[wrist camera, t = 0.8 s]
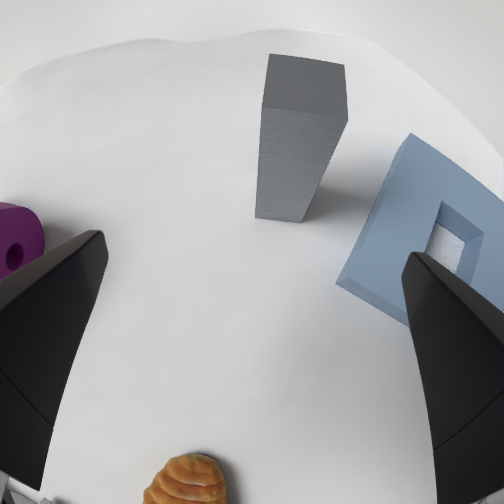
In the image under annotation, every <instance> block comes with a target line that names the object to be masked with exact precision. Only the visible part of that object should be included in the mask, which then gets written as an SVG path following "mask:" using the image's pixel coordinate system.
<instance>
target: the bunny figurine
mask: <svg viewBox="0 0 504 504" xmlns="http://www.w3.org/2000/svg"><path fill="white" fill-rule="evenodd" d="M10 492H11V495H12V497H13V499H14V502H15V504H36V503H34V502H33V501H31V500H30V499H28V498H26V497H24V496H22V495H20V494H18V493H15V492H13V491H10ZM39 504H52V502H51V501H49V500H48V499H46V498H45V497H44V499H43V500H42V501H41V502H40V503H39Z"/></svg>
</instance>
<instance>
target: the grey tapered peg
mask: <svg viewBox="0 0 504 504" xmlns="http://www.w3.org/2000/svg"><path fill="white" fill-rule="evenodd" d="M347 122H348V109H347V93H346V80H345V69H344V65H342V64H337V63H332V62H326V61H321V60H315V59H308V58H302V57H294V56H287V55H278V54H269V60H268V67H267V74H266V81H265V88H264V95H263V102H262V112H261V128H260V144H259V160H258V176H257V192H256V208H255V218H262V219H271V220H279V221H287V222H295V223H301V221H302V219H303V217H304V215H305V213H306V211H307V209H308V207H309V204H310V202H311V200H312V198H313V196H314V194H315V192H316V190H317V187H318V185H319V183H320V181H321V179H322V177H323V174H324V172H325V170H326V168H327V166H328V164H329V161H330V159H331V157H332V155H333V153H334V150H335V148H336V146H337V144H338V142H339V139H340V137H341V135H342V133H343V131H344V128H345V126H346V124H347Z"/></svg>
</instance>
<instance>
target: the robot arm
mask: <svg viewBox="0 0 504 504" xmlns="http://www.w3.org/2000/svg"><path fill="white" fill-rule="evenodd" d="M107 263H108V250H107V246H106V241H105V237H104V234H103V232H102V231H101V230H88V231H86V232H84V233H82V234H80V235H79V236H77V237H75V238H73V239H71V240H69V241H68V242H66V243H64V244H62V245H60V246H58V247H57V248H55V249H53V250H51V251H50V252H48V253H46V254H44V255H43V256H41V257H39V258H37V259H36V260H34V261H32V262H31V263H29V264H27V265H26V266H24V267H22V268H21V269H19V270H17V271H16V272H14V273H12V274H11V275H9V276H7V277H6V278H4V279H3V280H1V282H0V504H15V502H14V499H13V497H12V495H11V492H10V490H9V489H8V488H6V487H7V483H8V480H9V477H11V478H13V479H15V480H17V481H18V482H20V483H22V484H24V485H26V486H28V487H30V488H32V489H34V490H37V491H40V487H41V483H42V477H43V472H44V467H45V463H46V458H47V453H48V449H49V445H50V441H51V437H52V433H53V427H54V424H55V420H56V417H57V413H58V410H59V406H60V403H61V399H62V396H63V392H64V389H65V386H66V383H67V380H68V376H69V373H70V370H71V367H72V364H73V361H74V358H75V356H76V353H77V350H78V347H79V344H80V341H81V339H82V336H83V333H84V331H85V328H86V325H87V323H88V320H89V318H90V315H91V312H92V310H93V307H94V305H95V302H96V299H97V296H98V292H99V289H100V285H101V282H102V279H103V275H104V272H105V269H106V266H107ZM401 281H402V287H403V293H404V298H405V304H406V310H407V317H408V322H409V327H410V331H411V335H412V339H413V343H414V347H415V352H416V356H417V360H418V365H419V370H420V374H421V379H422V384H423V389H424V395H425V400H426V406H427V412H428V418H429V424H430V431H431V438H432V446H433V451H434V452H433V456H434V465H435V476H436V488H437V504H474V503H476V502H479V501H481V500H483V499H484V501H485V504H504V313H503V312H502V311H501V310H499V309H498V308H497V307H496V306H494V305H493V304H492V303H491V302H490V301H488V300H487V299H486V298H485V297H483V296H482V295H481V294H479V293H478V292H477V291H476V290H474V289H473V288H472V287H470V286H469V285H468V284H467V283H465V282H464V281H463V280H461V279H460V278H459V277H457V276H456V275H455V274H453V273H452V272H451V271H449V270H448V269H447V268H445V267H444V266H443V265H441V264H440V263H438V262H437V261H436V260H434V259H433V258H431V257H430V256H429V255H427V254H426V253H424V252H417V251H413V252H411V253H410V254H409V256H408V259H407V262H406V264H405V267H404V269H403V272H402V276H401Z"/></svg>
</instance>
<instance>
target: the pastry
mask: <svg viewBox="0 0 504 504" xmlns="http://www.w3.org/2000/svg"><path fill="white" fill-rule="evenodd" d="M143 504H227V500H226V484H225V478H224V475H223V473H222V471H221V469H220V467H219V465H218V463H217V462H216V461H215V460H214V459H212V458H210V457H207V456H204V455H200V454H189V455H183V456H179V457H175V458H171V459H170V460H169V461H168V462H167V464H166V465H165V467H164V468H163V469H162V470H161V471H160V472H158V473H157V474H156V476H155V477H154V479H153V482H152V484H151V485H150V486H149V487H148V488H146V490H145V491H144V501H143Z"/></svg>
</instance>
